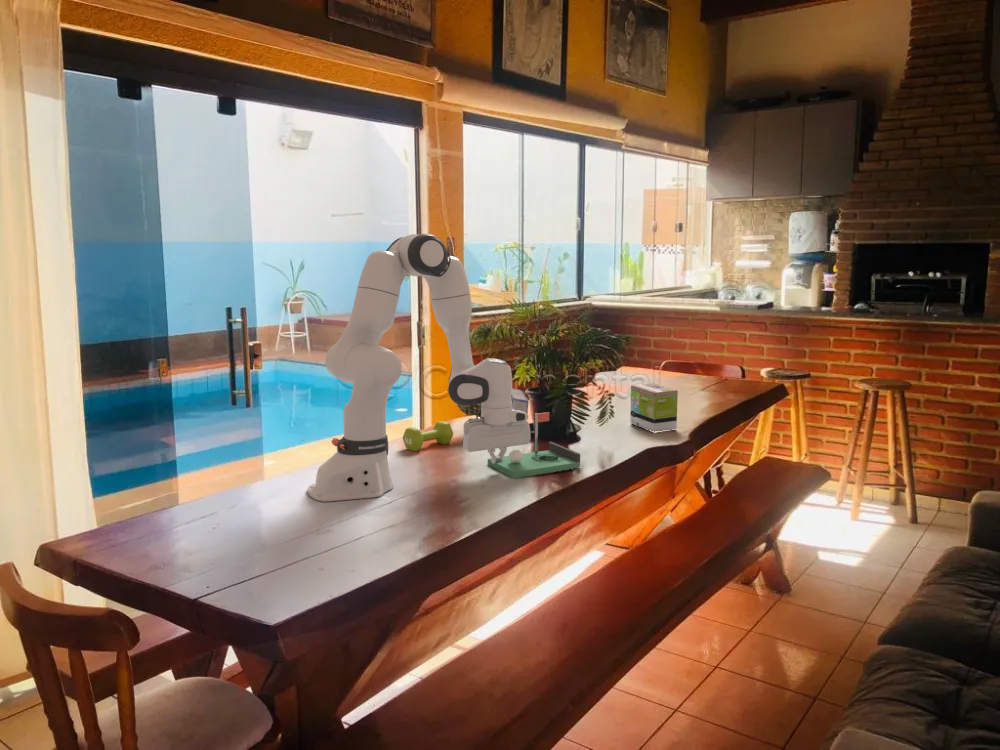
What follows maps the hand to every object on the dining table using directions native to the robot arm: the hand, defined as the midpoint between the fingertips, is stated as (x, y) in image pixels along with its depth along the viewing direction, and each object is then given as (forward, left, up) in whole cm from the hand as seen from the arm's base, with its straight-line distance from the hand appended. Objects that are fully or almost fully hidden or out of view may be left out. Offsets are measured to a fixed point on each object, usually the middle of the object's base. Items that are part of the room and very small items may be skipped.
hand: (497, 462), depth 231 cm
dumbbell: (-6, +37, -3) cm, 38 cm away
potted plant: (+22, +48, -3) cm, 53 cm away
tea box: (+74, +23, -3) cm, 78 cm away
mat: (+12, 0, -3) cm, 12 cm away
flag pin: (+19, +7, -3) cm, 20 cm away
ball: (+6, 0, +1) cm, 6 cm away
